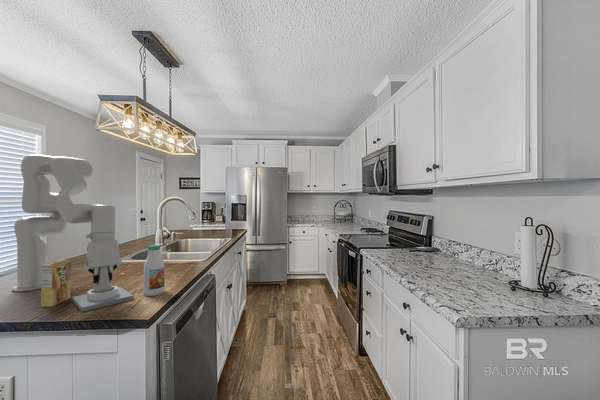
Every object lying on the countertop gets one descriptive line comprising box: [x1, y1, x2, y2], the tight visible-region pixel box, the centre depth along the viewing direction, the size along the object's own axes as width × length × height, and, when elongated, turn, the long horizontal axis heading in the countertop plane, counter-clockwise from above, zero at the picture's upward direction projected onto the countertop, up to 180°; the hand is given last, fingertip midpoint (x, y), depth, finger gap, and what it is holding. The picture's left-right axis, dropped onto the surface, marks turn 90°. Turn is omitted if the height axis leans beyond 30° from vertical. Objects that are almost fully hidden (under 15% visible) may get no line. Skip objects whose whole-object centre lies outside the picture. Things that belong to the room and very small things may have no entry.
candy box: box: [40, 259, 72, 308], centre depth 102 cm, size 9×4×15 cm, turn 6°
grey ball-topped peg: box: [93, 266, 113, 293], centre depth 105 cm, size 6×6×13 cm
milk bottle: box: [143, 244, 166, 297], centre depth 112 cm, size 8×8×20 cm
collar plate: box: [71, 285, 134, 313], centre depth 105 cm, size 16×16×4 cm
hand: (102, 283), depth 105 cm, fingers closed on grey ball-topped peg, 3 cm apart
